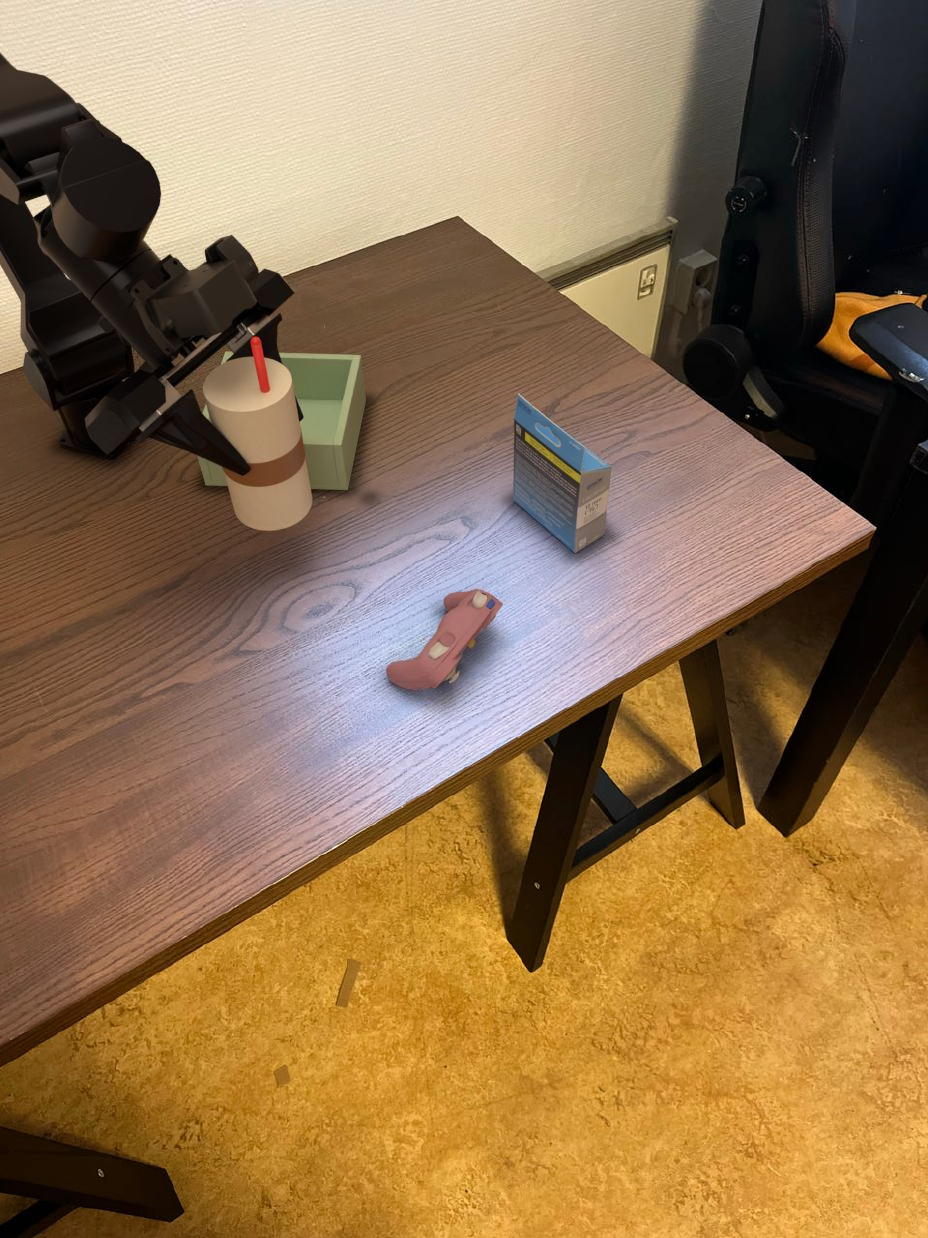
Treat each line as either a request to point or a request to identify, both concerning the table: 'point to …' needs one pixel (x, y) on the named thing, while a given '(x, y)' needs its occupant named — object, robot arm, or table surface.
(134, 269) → the robot arm
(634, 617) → the table surface
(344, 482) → the bin
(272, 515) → the straw cup
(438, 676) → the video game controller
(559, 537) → the label tape box
